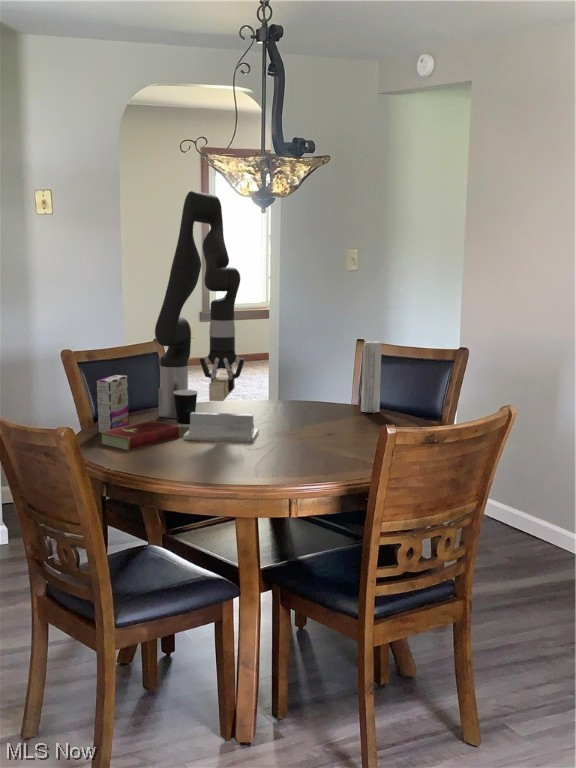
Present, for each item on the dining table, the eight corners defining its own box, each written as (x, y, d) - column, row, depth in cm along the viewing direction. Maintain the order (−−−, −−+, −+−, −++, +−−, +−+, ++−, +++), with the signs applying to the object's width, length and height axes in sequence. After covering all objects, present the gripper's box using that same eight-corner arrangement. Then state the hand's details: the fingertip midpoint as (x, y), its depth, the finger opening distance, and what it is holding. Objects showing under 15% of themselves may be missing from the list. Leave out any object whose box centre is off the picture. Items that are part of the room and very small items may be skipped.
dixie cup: (192, 429, 265) (192, 394, 264) (169, 427, 268) (168, 393, 266) (201, 424, 273) (201, 390, 271) (179, 422, 275) (179, 389, 273)
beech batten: (222, 387, 265) (222, 371, 264) (234, 387, 265) (234, 372, 264) (209, 400, 243) (209, 383, 243) (222, 401, 243) (222, 384, 242)
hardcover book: (180, 438, 255) (179, 425, 254) (128, 452, 238) (128, 437, 237) (151, 432, 262) (151, 419, 261) (99, 445, 245) (99, 431, 244)
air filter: (382, 411, 297) (384, 341, 293) (374, 414, 292) (376, 343, 288) (365, 409, 301) (368, 340, 296) (357, 412, 295) (359, 341, 291)
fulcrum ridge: (183, 439, 251) (183, 416, 250) (191, 430, 263) (191, 408, 262) (253, 442, 249) (253, 419, 248) (258, 433, 261) (258, 411, 260)
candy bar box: (115, 425, 269) (114, 374, 267) (129, 426, 268) (128, 375, 265) (97, 432, 259) (95, 379, 256) (111, 433, 257) (110, 381, 255)
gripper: (247, 334, 254) (247, 389, 257) (201, 332, 255) (201, 388, 258) (244, 336, 247) (243, 394, 250) (196, 335, 248) (196, 392, 251)
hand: (222, 391), depth 254 cm, fingers closed on beech batten, 4 cm apart
